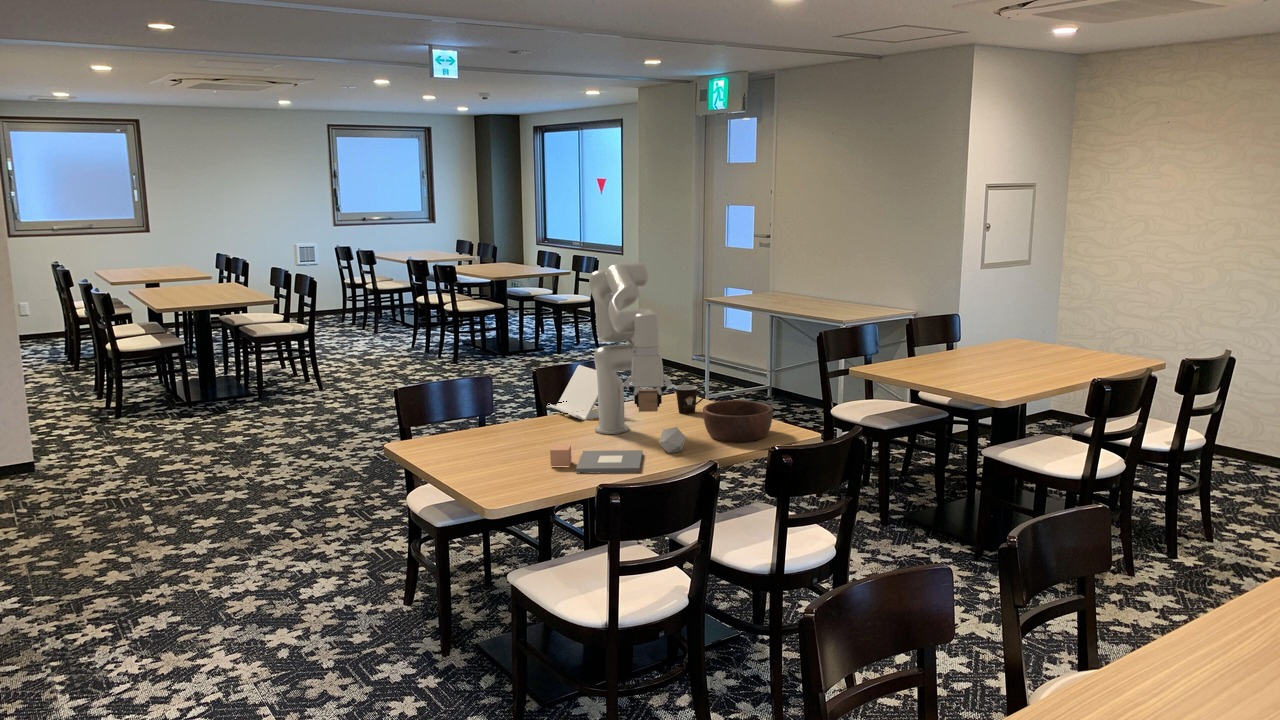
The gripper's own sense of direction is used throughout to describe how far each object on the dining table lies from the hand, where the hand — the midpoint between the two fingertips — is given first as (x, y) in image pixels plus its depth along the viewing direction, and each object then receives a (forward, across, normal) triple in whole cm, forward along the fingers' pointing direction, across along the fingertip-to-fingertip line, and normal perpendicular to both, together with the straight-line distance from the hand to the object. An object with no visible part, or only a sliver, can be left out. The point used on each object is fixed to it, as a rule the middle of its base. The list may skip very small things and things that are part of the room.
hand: (648, 405), depth 304 cm
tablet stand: (+20, -29, +71) cm, 79 cm away
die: (+20, +8, +14) cm, 25 cm away
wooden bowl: (+20, +31, +32) cm, 49 cm away
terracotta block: (+19, -29, -1) cm, 35 cm away
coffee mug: (+20, +15, +67) cm, 72 cm away
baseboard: (+19, -13, 0) cm, 23 cm away
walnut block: (+1, 0, 0) cm, 1 cm away
